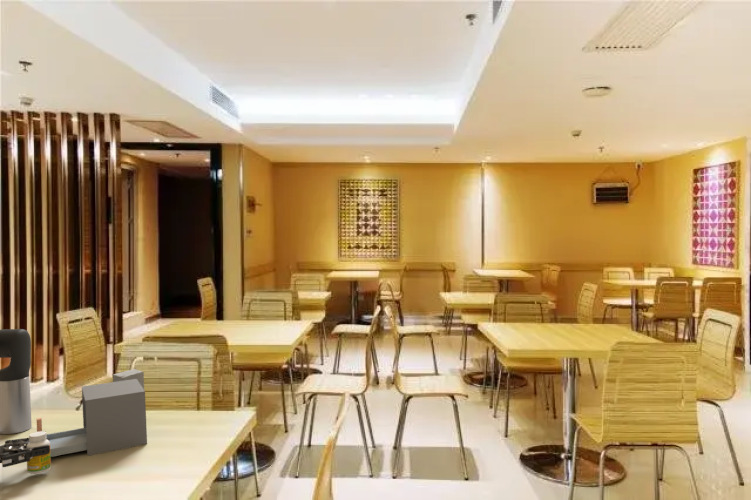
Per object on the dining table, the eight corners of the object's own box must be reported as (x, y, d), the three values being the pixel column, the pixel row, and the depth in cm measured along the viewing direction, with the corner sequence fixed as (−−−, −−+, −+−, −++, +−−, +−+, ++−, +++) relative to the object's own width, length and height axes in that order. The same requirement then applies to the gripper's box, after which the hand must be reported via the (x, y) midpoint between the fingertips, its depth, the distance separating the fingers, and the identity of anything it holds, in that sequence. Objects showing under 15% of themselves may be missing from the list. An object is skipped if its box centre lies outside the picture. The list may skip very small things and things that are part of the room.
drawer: (38, 443, 172) (37, 406, 172) (98, 432, 180) (97, 397, 180) (38, 459, 159) (36, 420, 159) (103, 447, 167) (101, 409, 167)
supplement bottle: (43, 474, 148) (41, 437, 148) (22, 474, 149) (21, 437, 148) (55, 465, 154) (53, 430, 153) (35, 465, 154) (33, 430, 154)
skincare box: (135, 412, 204) (133, 368, 203) (147, 415, 200) (145, 370, 199) (112, 418, 197) (110, 373, 196) (124, 422, 193) (122, 375, 192)
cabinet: (83, 437, 179) (81, 386, 179) (138, 427, 187) (136, 378, 187) (87, 455, 164) (85, 400, 163) (147, 443, 172) (144, 391, 171)
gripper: (-32, 454, 137) (49, 439, 146) (-26, 435, 150) (48, 423, 158) (-31, 484, 138) (50, 468, 146) (-24, 464, 150) (50, 450, 159)
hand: (49, 445), depth 152 cm, fingers closed on supplement bottle, 5 cm apart
